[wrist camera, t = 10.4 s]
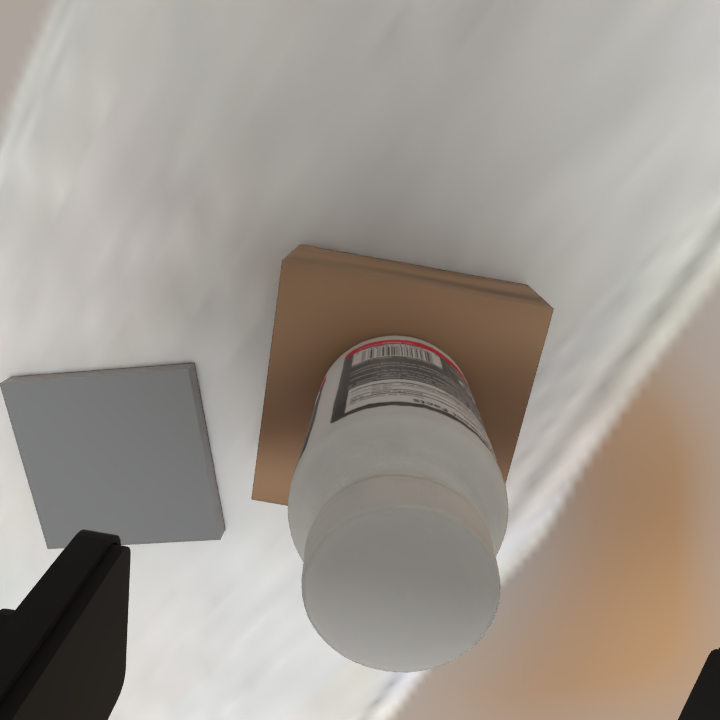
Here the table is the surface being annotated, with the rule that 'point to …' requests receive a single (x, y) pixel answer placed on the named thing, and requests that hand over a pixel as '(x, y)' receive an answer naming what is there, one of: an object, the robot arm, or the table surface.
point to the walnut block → (389, 318)
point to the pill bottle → (398, 509)
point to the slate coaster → (117, 454)
